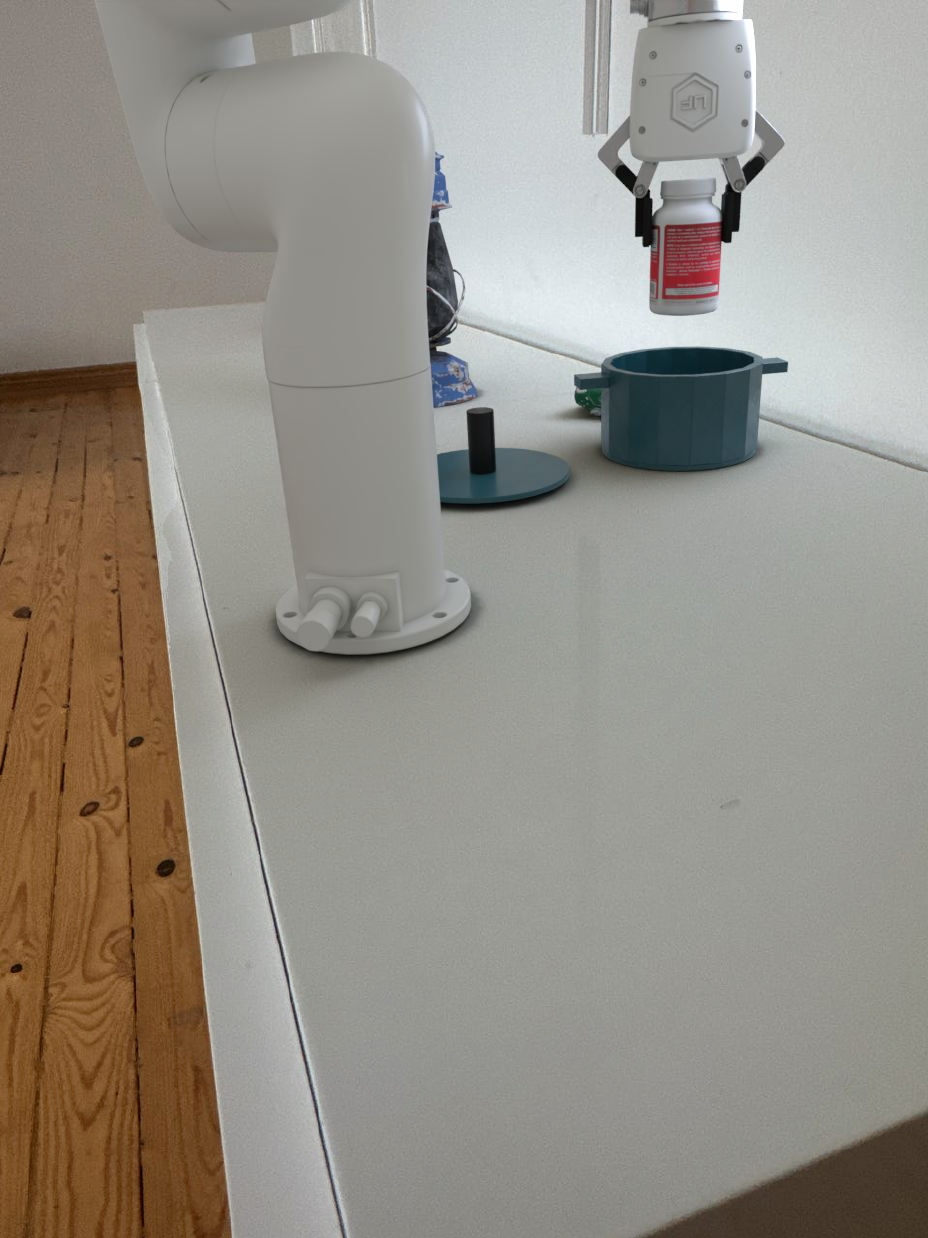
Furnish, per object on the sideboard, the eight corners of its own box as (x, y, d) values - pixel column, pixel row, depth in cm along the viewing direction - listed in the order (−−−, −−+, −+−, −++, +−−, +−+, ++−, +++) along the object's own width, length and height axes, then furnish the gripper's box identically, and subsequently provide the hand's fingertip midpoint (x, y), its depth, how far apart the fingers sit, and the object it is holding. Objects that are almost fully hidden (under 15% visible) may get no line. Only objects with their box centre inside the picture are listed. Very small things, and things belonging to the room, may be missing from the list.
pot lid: (588, 500, 81) (588, 422, 79) (404, 518, 80) (398, 439, 77) (549, 452, 95) (548, 385, 93) (392, 467, 94) (386, 399, 91)
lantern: (477, 407, 115) (462, 124, 102) (375, 413, 115) (347, 132, 103) (477, 381, 129) (464, 130, 116) (385, 386, 129) (362, 136, 117)
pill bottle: (732, 310, 87) (740, 176, 82) (683, 319, 84) (689, 180, 80) (682, 305, 92) (688, 177, 87) (634, 312, 89) (637, 181, 84)
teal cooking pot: (810, 459, 88) (819, 365, 85) (597, 480, 86) (597, 384, 83) (747, 422, 101) (752, 339, 98) (560, 439, 99) (559, 355, 96)
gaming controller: (577, 425, 111) (563, 397, 106) (586, 397, 112) (571, 367, 107) (655, 431, 107) (643, 401, 102) (663, 401, 108) (652, 371, 103)
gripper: (586, 9, 76) (587, 252, 84) (815, -11, 73) (794, 242, 81) (587, 21, 83) (588, 245, 90) (797, 3, 80) (779, 235, 88)
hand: (685, 241), depth 86 cm, fingers closed on pill bottle, 6 cm apart
